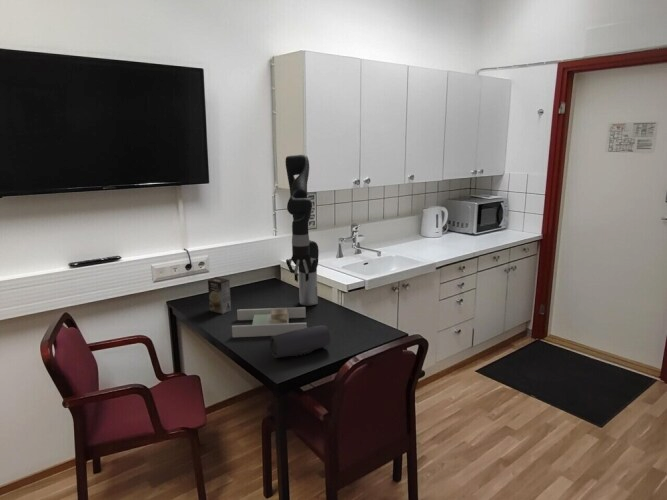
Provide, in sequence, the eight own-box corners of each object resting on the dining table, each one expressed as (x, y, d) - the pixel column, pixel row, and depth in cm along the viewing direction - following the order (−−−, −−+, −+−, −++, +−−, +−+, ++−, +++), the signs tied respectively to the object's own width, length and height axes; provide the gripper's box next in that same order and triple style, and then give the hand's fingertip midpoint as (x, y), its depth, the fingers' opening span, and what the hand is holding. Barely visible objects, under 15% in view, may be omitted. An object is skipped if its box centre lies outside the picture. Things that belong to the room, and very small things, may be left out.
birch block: (287, 317, 214) (287, 309, 213) (287, 322, 209) (286, 313, 208) (272, 317, 214) (271, 309, 213) (271, 322, 208) (271, 314, 207)
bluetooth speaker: (320, 342, 195) (320, 320, 192) (331, 351, 187) (331, 328, 184) (269, 355, 184) (268, 331, 182) (278, 365, 176) (277, 340, 174)
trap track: (305, 316, 223) (305, 306, 221) (306, 334, 203) (306, 323, 202) (237, 319, 220) (237, 309, 219) (232, 337, 201) (231, 326, 199)
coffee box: (209, 310, 231) (206, 280, 227) (218, 306, 237) (216, 276, 233) (222, 314, 227) (220, 282, 223) (231, 310, 232) (229, 279, 228)
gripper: (316, 241, 208) (317, 278, 212) (284, 242, 207) (285, 279, 211) (317, 245, 200) (317, 283, 205) (284, 246, 199) (285, 284, 203)
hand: (301, 281), depth 208 cm, fingers open, 3 cm apart
